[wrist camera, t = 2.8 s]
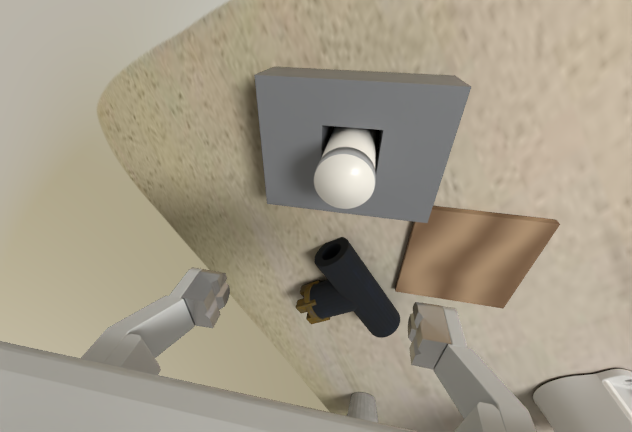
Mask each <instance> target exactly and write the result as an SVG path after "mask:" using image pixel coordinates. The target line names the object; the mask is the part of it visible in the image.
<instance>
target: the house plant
mask: <svg viewBox="0 0 632 432" xmlns="http://www.w3.org/2000/svg"><path fill="white" fill-rule="evenodd" d="M347 416H349V417H353V418H358V419H363V420H367V421H372V422H377V423H378V416H377V409H376V402H375V398H374V397H373V396H372V395H370V394H367V393H363V392H356V393H353V394H352V396H351V400H350V405H349V409H348V414H347Z"/></svg>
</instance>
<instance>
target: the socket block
mask: <svg viewBox="0 0 632 432" xmlns="http://www.w3.org/2000/svg"><path fill="white" fill-rule="evenodd" d="M255 84H256V94H257V105H258V115H259V125H260V135H261V146H262V156H263V166H264V176H265V186H266V197H267V204H274V205H282V206H290V207H298V208H307V209H315V210H323V211H331V212H339V213H348V214H356V215H364V216H372V217H380V218H389V219H397V220H405V221H413V222H421V223H428V220H429V217H430V213H431V210H432V207H433V204H434V201H435V198H436V195H437V192H438V189H439V185H440V182H441V179H442V176H443V173H444V170H445V167H446V164H447V161H448V157H449V154H450V151H451V148H452V145H453V142H454V139H455V136H456V133H457V129H458V126H459V123H460V120H461V117H462V114H463V111H464V108H465V105H466V101H467V98H468V95H469V92H470V89H471V86H469V85H468V84H466V83H465V82H464V81H462V80H461V79H459V78H458V77H456V76H450V75H430V74H410V73H390V72H370V71H350V70H330V69H310V68H290V67H272V68H270V69H267V70H265V71H263V72H260V73H258V74H256V75H255ZM330 126H337V127H350V128H363V129H376V130H380V134H379V140H378V147H377V153H376V160H375V171H376V183H375V189H374V192H373V194H372V196H371V197H370V198H369V199H368V200H367V201H366V202H365V203H364V204H362V205H360V206H358V207H355V208H350V209H341V208H336V207H333V206H331V205H329V204H327V203H326V202H324V201H323V200H322V199H321V198H320V196H319V195H318V194H317V192H316V190H315V187H314V173H315V170H316V168H317V166H318V163H319V161H320V160H321V158H322V156H323V153H324V151H325V148H326V146H327V144H328V141H329V134H330Z"/></svg>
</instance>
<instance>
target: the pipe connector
mask: <svg viewBox="0 0 632 432" xmlns="http://www.w3.org/2000/svg"><path fill="white" fill-rule="evenodd" d="M315 264H316V265H317V266H318V268H319V269H320V270H321V271H322V273H323V274H324V275H325V276H326V278H327V279H328V280H326V281H323V282H320V281H319V280H318V281H315V282H312V283H309V284H306V285H303V286H302V287H301V290H300V294H301V295H302V296H303V297H304V298H303V299H300V300H298V301H297V305H296V309H297V310H298V311H299V312H300V313H304V312H308V313H307V318H306V319H307V320H308V321H309V322H310V323H311V324H314V323H318V322H322V321H326V320H330V317H332V316H336V315H340V314H344V313H348V312H351V311H354V312H355V314H356V315H357V316H358V317H359V318H360V320H361V321H362V322H363V323H364V325H365V326H366V327H367V328H368V330H369V331H370V332H371V333H372V334H373V335H374V336H376V337H387V336H389V335H391V334H392V333H394V332H395V331H396V329H397V328H398V326H399V323H400V315H399V313H398V311H397V310H396V309H395V307H394V306H393V304H392V303H391V301H390V300H389V299H388V297H387V296H386V294H385V293H384V292H383V290H382V289H381V287H380V286H379V284H378V283H377V282H376V280H375V279H374V277H373V276H372V274H371V273H370V272H369V270H368V269H367V267H366V266H365V264H364V263H363V262H362V260H361V259H360V257H359V256H358V254H357V253H356V252H355V250H354V249H353V247H352V246H351V244H350V243H349V242H348V240H347V239H346V238H342V237H341V238H338V239H336V240H333V241H330V242H328V243H326V244H324V245H323V246H322V247H321V248H320V249H319V251H318V252H317V254H316V256H315Z"/></svg>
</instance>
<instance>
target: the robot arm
mask: <svg viewBox="0 0 632 432" xmlns="http://www.w3.org/2000/svg"><path fill="white" fill-rule="evenodd" d="M226 279H227V277H226V273H221V272H216V271H210V270H204V269H199V268H191V269H189V270H188V272H187V273H186V274H185V275H184V277H183V278H182V279H181V281H180V282H179V283H178V285H177V286H176V287H175V288H174V290H173V291H172V292H171V294H170V295H169V296H164V297H162V298H160V299H159V300H157V301H155V302H153V303H151V304H150V305H148V306H146V307H144V308H142V309H141V310H139V311H137V312H135V313H134V314H132V315H130V316H129V317H126V318H124V319H123V320H121V321H119V322H117V323H116V324H114V325H112V326H110V327H108V328H107V329H106V330H105V332H104V333H103V334H102V335H101V336H100V337H99V338H98V339H97V341H96V342H95V343H94V344H93V345H92V346H91V347H90V349H89V350H88V351H87V352H86V353H85V354H84V355H83V356H82V357H81V359H80V358H76V357H71V356H66V355H62V354H57V353H52V352H48V351H43V350H38V349H34V348H29V347H25V346H20V345H16V344H11V343H7V342H2V341H0V432H418V431H414V430H409V429H404V428H400V427H395V426H390V425H386V424H381V423H377V422H372V421H367V420H363V419H358V418H353V417H349V416H344V415H340V414H335V413H330V412H326V411H321V410H316V409H312V408H307V407H303V406H298V405H293V404H288V403H284V402H279V401H275V400H270V399H266V398H261V397H256V396H252V395H247V394H243V393H238V392H233V391H228V390H224V389H219V388H215V387H210V386H205V385H201V384H196V383H192V382H187V381H182V380H177V379H173V378H168V377H164V376H159V375H158V374H159V372H160V366H159V364H158V363H157V361H156V360H155V358H156V357H157V356H158V355H159V354H161V353H162V352H163V351H165V350H166V349H167V348H168V347H169V346H171V345H172V344H173V343H174V342H176V341H177V340H178V339H179V338H181V337H182V336H183V335H185V334H186V333H187V332H188V331H190V330H191V329H192V328H193V327H194V325H196V326H203V327H209V328H213V327H214V325H215V323H216V322H217V320H218V318H219V316H220V311H219V310H220V309H221V308H223V307H224V306H225V305H226V303H227V301H228V298H229V294H230V289H229V285H228V284H227V283H226V282H225V281H226ZM408 338H409V339H410V340H411V342H412V343H411V346H410V357H411V365H415V366H419V367H424V368H429V369H434V372H435V374H436V375H437V377H438V378H439V380H440V382H441V383H442V385H443V386H444V388H445V389H446V391H447V393H448V394H449V396H450V397H451V399H452V400H453V402H454V404H455V405H456V407H457V408H458V410H459V411H460V413H461V415H462V416H463V418H464V421H463V422H462V423H461V424H460V425H459V426H458V428H457V429H456V430H455V431H454V432H537V431H536V428H535V426H534V423H533V421H532V418H531V416H530V413H529V411H528V410H527V408H526V407H525V406H524V405H523V404H522V403H521V402H520V401H519V400H518V399H517V397H516V396H515V395H514V394H513V393H512V392H511V391H510V390H509V389H508V388H507V386H506V385H505V384H504V383H503V382H502V381H501V380H500V379H499V378H498V377H497V375H496V374H495V373H494V372H493V371H492V370H491V369H490V368H489V367H488V365H487V364H486V363H485V362H484V361H483V360H482V359H481V358H480V357H479V356H478V354H477V353H476V352H475V351H474V350H473V349H472V348H468V347H467V343H466V340H465V336H464V333H463V329H462V326H461V322H460V319H459V315H458V312H457V310H456V309H455V308H451V307H444V306H439V305H432V304H425V303H418V302H415V303H414V306H413V313H412V314H410V317H409V321H408ZM533 400H534V402H535V403H536V405H537V406H538V407H539V409H540V410H541V411H542V413H543V414H544V416H545V417H546V419H547V420H548V422H549V424H550V425H551V427H552V428H553V430H554V432H632V371H628V370H625V369H612V370H608V371H604V372H600V373H596V374H590V375H579V376H571V377H565V378H560V379H557V380H553V381H551V382H548V383H546V384H544V385H542V386H541V387H539V388H538V389H537V390H536V391H535V392H534V394H533Z"/></svg>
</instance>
